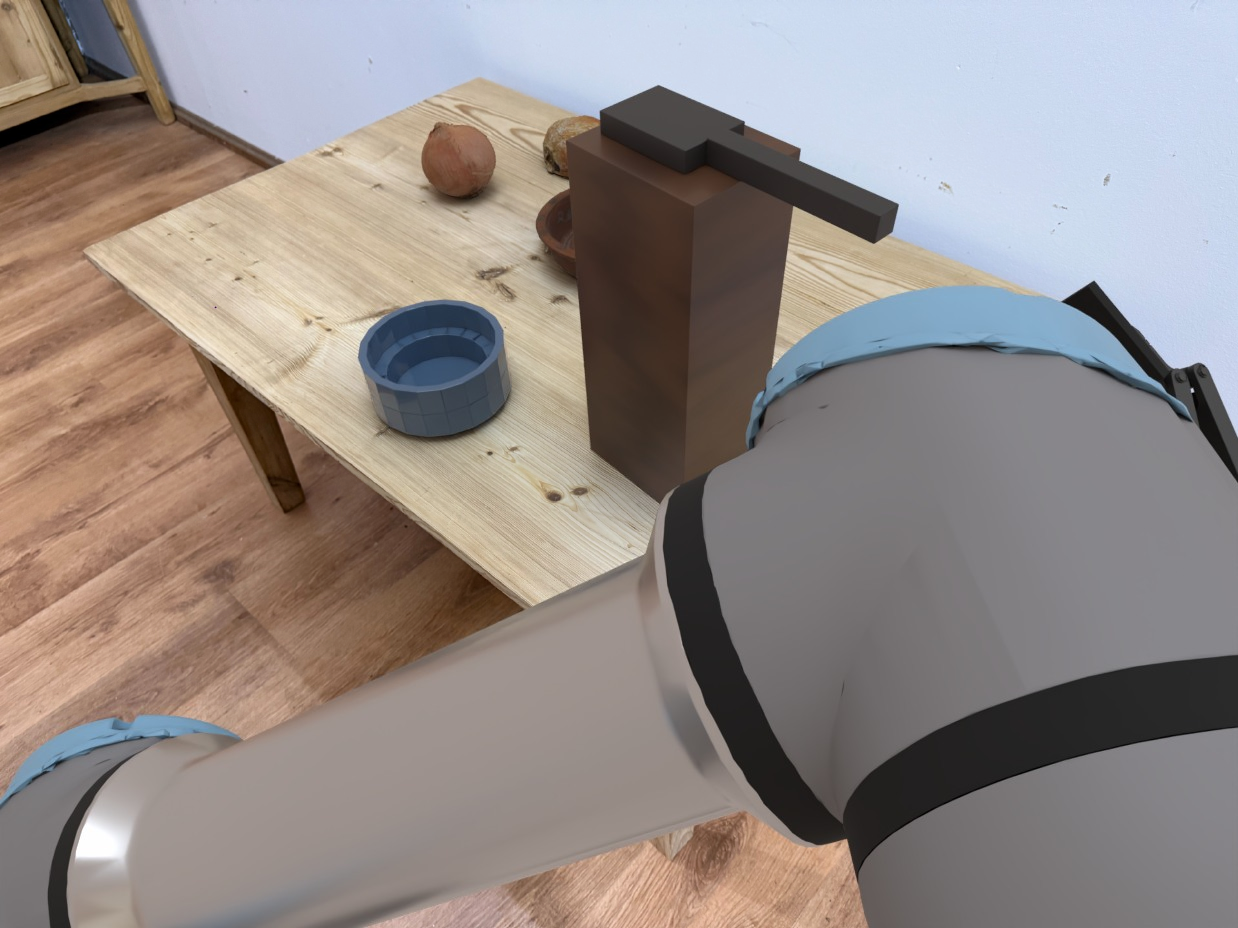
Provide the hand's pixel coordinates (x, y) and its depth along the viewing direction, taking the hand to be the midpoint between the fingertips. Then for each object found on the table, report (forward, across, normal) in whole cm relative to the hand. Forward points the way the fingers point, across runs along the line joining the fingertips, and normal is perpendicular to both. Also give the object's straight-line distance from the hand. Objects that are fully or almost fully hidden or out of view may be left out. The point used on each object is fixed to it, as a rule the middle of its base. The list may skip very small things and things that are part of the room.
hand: (1007, 348), depth 45 cm
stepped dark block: (+18, 0, -7) cm, 19 cm away
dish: (+32, +18, -50) cm, 62 cm away
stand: (+8, 0, -36) cm, 37 cm away
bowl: (+27, -11, -47) cm, 55 cm away
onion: (+54, +14, -62) cm, 83 cm away
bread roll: (+49, +30, -60) cm, 83 cm away
